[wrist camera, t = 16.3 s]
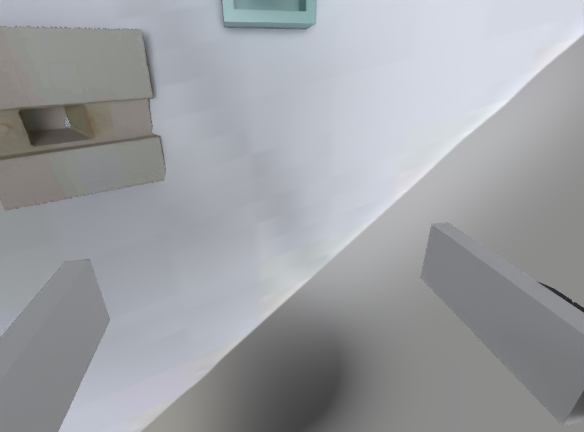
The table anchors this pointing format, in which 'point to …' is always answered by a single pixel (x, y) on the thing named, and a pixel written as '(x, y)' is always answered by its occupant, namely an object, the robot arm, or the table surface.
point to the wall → (74, 114)
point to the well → (269, 13)
